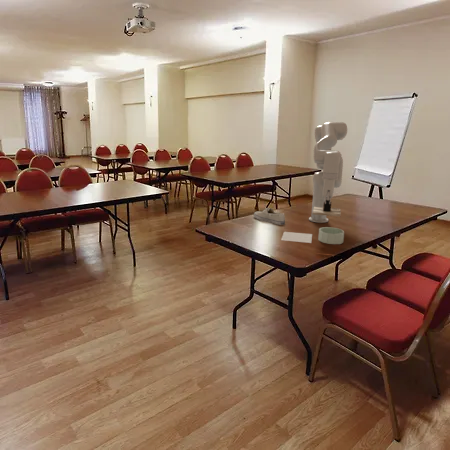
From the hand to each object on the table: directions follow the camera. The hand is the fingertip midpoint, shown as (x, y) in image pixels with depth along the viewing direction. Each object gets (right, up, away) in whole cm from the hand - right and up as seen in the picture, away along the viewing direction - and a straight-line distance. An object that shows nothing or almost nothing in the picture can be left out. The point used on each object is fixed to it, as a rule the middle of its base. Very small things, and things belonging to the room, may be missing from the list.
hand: (326, 209), depth 197 cm
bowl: (+3, -17, +4) cm, 18 cm away
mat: (-14, -15, +8) cm, 23 cm away
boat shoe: (-26, -5, +43) cm, 51 cm away
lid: (0, -1, 0) cm, 1 cm away
